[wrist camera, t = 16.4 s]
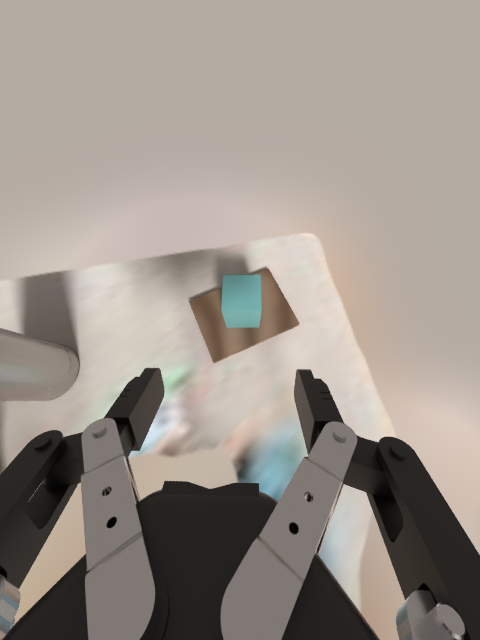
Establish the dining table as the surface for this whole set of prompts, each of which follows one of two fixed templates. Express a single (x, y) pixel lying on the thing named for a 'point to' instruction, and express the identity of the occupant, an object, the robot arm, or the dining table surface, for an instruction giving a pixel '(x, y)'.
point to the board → (234, 340)
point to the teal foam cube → (241, 301)
